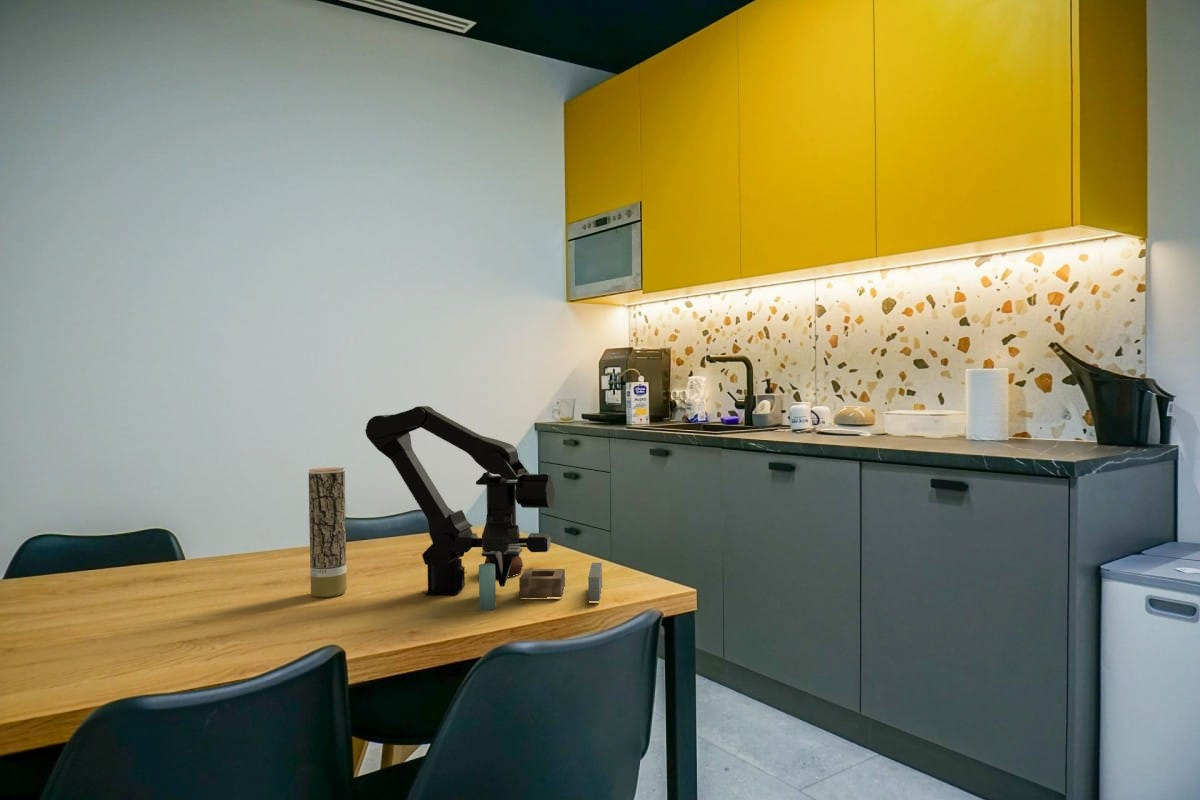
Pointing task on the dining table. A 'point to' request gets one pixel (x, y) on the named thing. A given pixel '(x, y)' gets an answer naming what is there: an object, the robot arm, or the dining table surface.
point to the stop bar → (595, 582)
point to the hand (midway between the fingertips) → (502, 586)
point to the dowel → (487, 587)
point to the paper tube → (327, 531)
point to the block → (542, 583)
